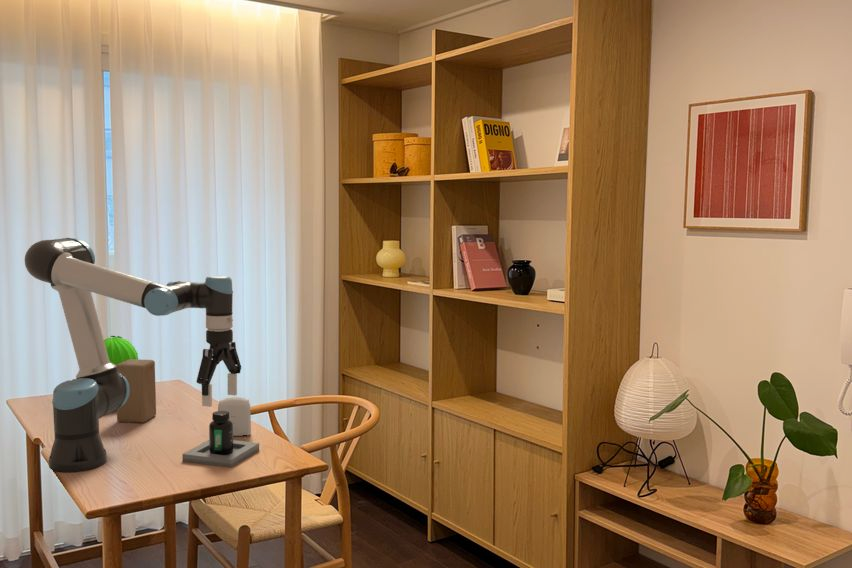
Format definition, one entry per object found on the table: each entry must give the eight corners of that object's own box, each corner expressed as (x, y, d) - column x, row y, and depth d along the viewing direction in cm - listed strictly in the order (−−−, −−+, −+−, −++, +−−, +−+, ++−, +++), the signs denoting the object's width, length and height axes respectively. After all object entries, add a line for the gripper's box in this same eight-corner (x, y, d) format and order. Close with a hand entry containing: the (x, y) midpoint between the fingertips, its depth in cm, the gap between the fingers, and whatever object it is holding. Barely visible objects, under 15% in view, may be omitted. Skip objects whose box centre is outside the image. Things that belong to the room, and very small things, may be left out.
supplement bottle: (220, 457, 225) (220, 417, 224) (204, 453, 229) (203, 413, 228) (238, 451, 231) (237, 411, 230) (222, 447, 235) (221, 408, 233)
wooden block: (157, 415, 271) (155, 359, 269) (144, 423, 261) (142, 365, 259) (130, 414, 272) (128, 358, 270) (115, 422, 262) (113, 364, 260)
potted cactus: (115, 412, 275) (112, 342, 272) (70, 404, 284) (68, 337, 281) (160, 398, 295) (158, 333, 292) (117, 391, 304) (115, 328, 301)
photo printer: (217, 437, 248) (216, 399, 246) (219, 433, 252) (218, 396, 250) (250, 436, 249) (249, 399, 247) (251, 432, 253) (251, 395, 251)
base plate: (231, 467, 220) (231, 459, 220) (182, 461, 225) (182, 453, 225) (259, 450, 235) (259, 443, 235) (213, 444, 240) (212, 437, 240)
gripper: (206, 337, 213) (207, 412, 215) (252, 323, 237) (252, 391, 239) (182, 335, 215) (183, 409, 217) (230, 321, 239) (231, 389, 241)
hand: (220, 400), depth 228 cm, fingers open, 13 cm apart
